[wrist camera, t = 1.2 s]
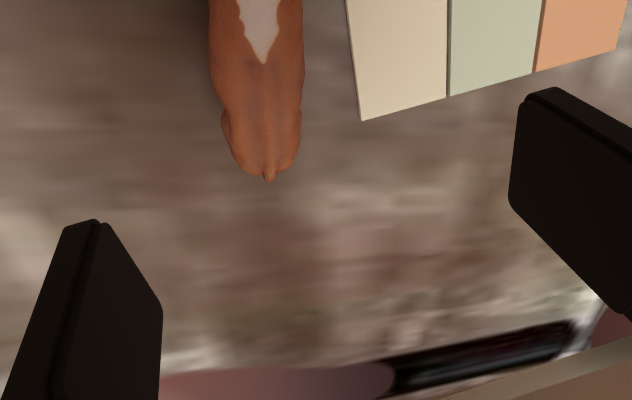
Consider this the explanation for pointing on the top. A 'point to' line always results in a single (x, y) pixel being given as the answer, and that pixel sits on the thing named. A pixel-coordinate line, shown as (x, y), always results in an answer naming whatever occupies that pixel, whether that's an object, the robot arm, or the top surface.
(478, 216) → the top surface
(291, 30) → the bull figurine
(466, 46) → the game board
